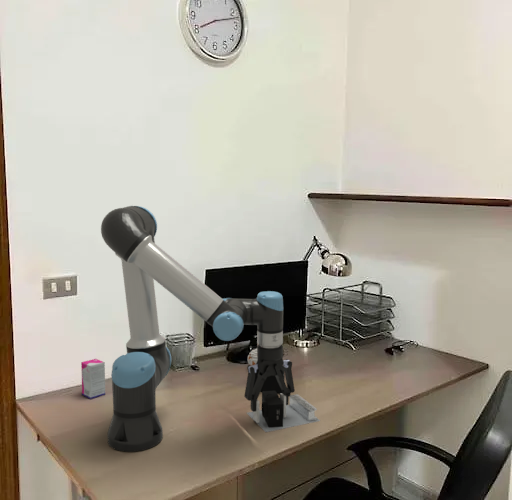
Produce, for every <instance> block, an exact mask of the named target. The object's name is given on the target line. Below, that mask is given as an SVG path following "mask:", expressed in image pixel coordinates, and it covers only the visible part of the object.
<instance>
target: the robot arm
mask: <svg viewBox="0 0 512 500" xmlns="http://www.w3.org/2000/svg"><path fill="white" fill-rule="evenodd" d="M157 230H158V223H157V219H156V216H155V215H154V214H153V213H152V212H151V211H150V210H149V209H147V208H146V207H143V206H139V205H129V206H124V207H119V208H115V209H112V210H111V211H109V212H108V213H107V214H106V215H105V216H104V217H103V219H102V222H101V226H100V233H101V237H102V239H103V241H104V243H105V244H106V245H107V246H108V248H110V249H111V250H112V251H113V252H114V254H115V256H116V257H118V258H119V259H120V261H121V266H122V267H121V268H122V275H123V285H124V292H125V302H126V310H127V319H128V328H129V329H128V330H129V336H130V337H129V339H128V341H127V342H126V343H125V348H126V353H125V354H121V355H120V356H118V357H117V358H116V359H115V360H114V362H113V363H112V367H111V384H112V386H111V387H112V406H113V410H112V411H113V412H112V413H113V414H112V418H111V422H110V424H109V427H108V431H107V444H108V446H109V447H110V448H111V449H114V450H117V451H120V452H131V453H132V452H139V451H145V450H149V449H151V448H153V447H155V446H156V445H158V444H159V443H161V441H162V440H163V436H164V435H163V426H162V424H161V421H160V419H159V415H158V412H157V403H156V401H157V399H156V397H157V396H156V395H157V394H156V390H157V387H158V386H159V385H160V384H161V383H162V381H163V380H164V379H165V377H166V376H167V375H168V374H169V372H170V369H171V365H172V355H171V351H170V349H169V348H168V347H167V345H166V344H167V343H166V338H165V337H164V336H163V335H161V333H160V327H159V318H158V310H157V309H158V308H157V300H156V299H157V297H156V290H155V283H154V281H155V282H156V283H157V284H159V285H161V287H163V288H164V289H165V290H167V291H168V292H169V293H170V294H171V295H172V296H174V298H176V299H178V300H179V301H180V302H181V303H183V304H184V305H185V306H186V307H188V308H189V309H190V310H191V311H192V312H193V313H195V314H196V315H197V316H199V317H200V318H201V319H203V321H204V322H206V323H207V324H208V325H210V326H211V328H212V330H213V333H214V334H215V336H216V337H217V338H218V339H219V340H221V341H223V342H224V341H225V342H229V341H233V340H235V339H237V337H239V335H240V334H241V333H242V332H243V330H244V327H245V326H244V325H246V326H247V325H248V326H257V328H256V329H257V331H256V334H257V335H256V340H257V341H256V344H257V343H258V344H259V345H258V346H257V345H256V349H257V358H258V360H257V363H256V365H253V366H251V365H249V364H248V365H247V366H246V368H247V378H246V385H245V390H244V398H245V399H246V400H247V401H250V410H251V412H253V419H254V420H255V421H256V422H257V423H259V410H260V400H259V396H260V394H261V392H260V391H261V389H262V386H263V384H264V381H265V380H266V378H267V377H269V376H271V375H272V376H276V379H277V381H278V383H279V386H280V388H281V390H282V392H283V394H282V393H280V394H279V398H280V400H281V401H282V403H283V417H286V405H289V402H290V395H292V393H295V385H294V378H293V372H292V367H293V362H292V361H291V360H290V359H283V356H284V346H283V343H284V338H283V337H284V298H283V297H284V296H283V295H282V293H280V292H278V291H273V290H272V291H271V290H267V291H260V292H259V293H258V294H257V297H256V298H232V297H226V298H222V297H221V296H219V295H218V294H217V293H216V292H215V291H214V290H213V289H211V288H210V287H209V286H208V285H206V284H205V283H203V282H202V280H200V279H199V278H198V277H197V276H196V275H195V274H193V273H192V272H190V271H189V270H188V269H187V268H185V267H184V266H183V265H182V264H181V263H179V262H178V261H177V260H175V259H174V258H173V257H172V256H171V255H170V254H168V253H167V252H166V251H165V250H163V249H162V247H160V246H159V245H157V244H156V242H155V237H156V234H157ZM282 366H284V370H285V377H284V379H283V377H282V374H281V371H280V369H281V367H282ZM257 369H259V373H258V378H257V380H256V383H255V385H254V380H255V373H256V370H257ZM253 386H254V388H253ZM253 419H252V420H253ZM254 420H253V421H254ZM255 421H254V422H255ZM256 422H255V423H256ZM257 423H256V424H257Z"/></svg>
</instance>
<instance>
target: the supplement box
mask: <svg viewBox="0 0 512 500" xmlns="http://www.w3.org/2000/svg"><path fill="white" fill-rule="evenodd" d="M105 367H106V365H105V362H104V361H102V360H100V359H97V358H93V359H89V360H85V361H82V362H81V368H80V369H81V396H83V395H84V396H83V397H86V398H88V399H89V400H93V399H95V398H99V397H102V396H105V395H106V370H105V369H106V368H105Z"/></svg>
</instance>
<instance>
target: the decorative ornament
mask: <svg viewBox="0 0 512 500" xmlns="http://www.w3.org/2000/svg"><path fill="white" fill-rule="evenodd" d="M256 344H257V345H256V347H257V346H258V345H259V344H258V343H257V342H256ZM257 360H258V358H257V348H255V349H252V350H251V351H250V352H249V354H248V355H247V363H248V365H251V366H253V365H256V363H257Z"/></svg>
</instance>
